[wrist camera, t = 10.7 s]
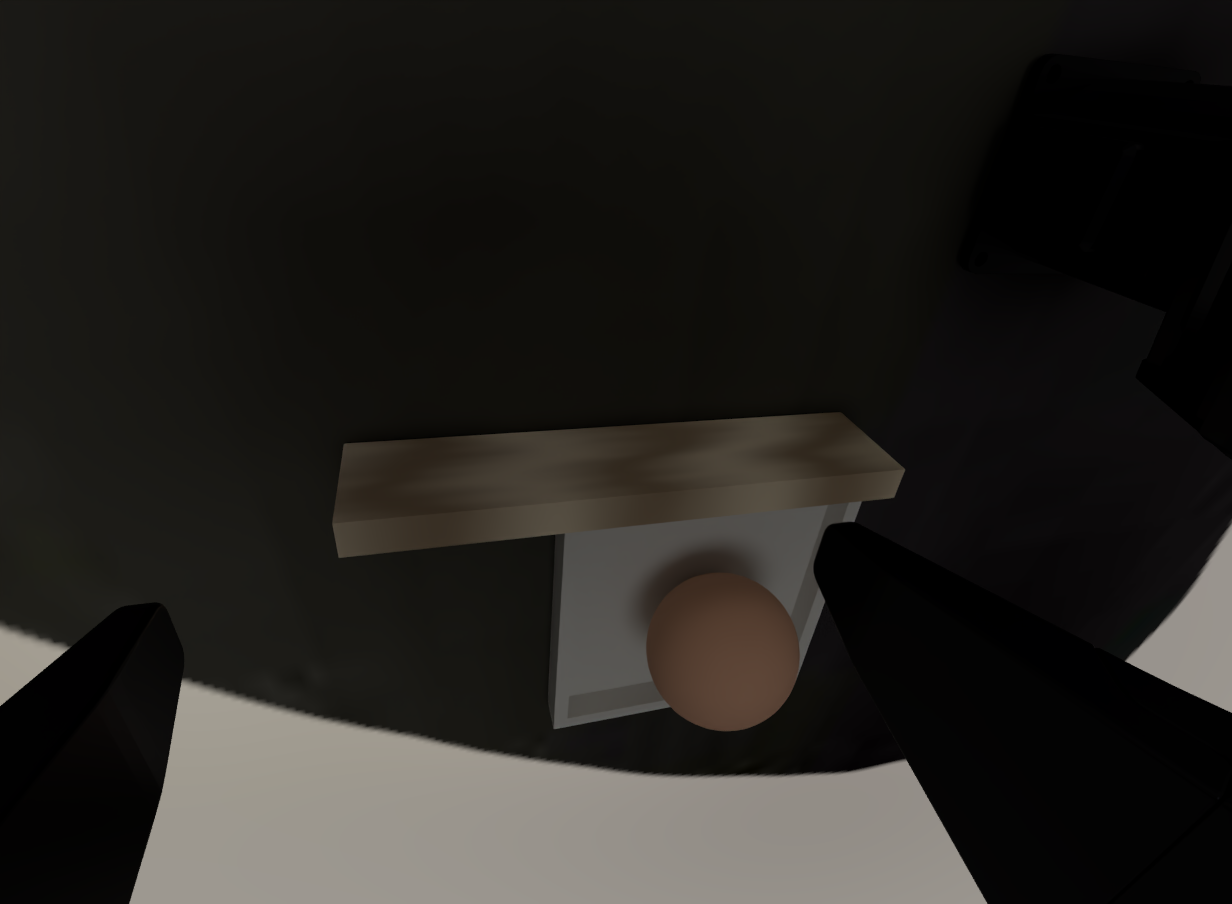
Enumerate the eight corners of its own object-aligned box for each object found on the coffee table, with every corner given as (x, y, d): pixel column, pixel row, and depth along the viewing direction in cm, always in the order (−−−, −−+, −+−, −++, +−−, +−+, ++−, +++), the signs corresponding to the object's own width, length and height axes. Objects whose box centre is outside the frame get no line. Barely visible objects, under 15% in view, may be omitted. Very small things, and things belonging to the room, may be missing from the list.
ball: (767, 533, 27) (850, 642, 22) (740, 630, 30) (807, 744, 26) (634, 552, 25) (693, 675, 21) (620, 654, 28) (669, 780, 24)
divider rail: (840, 411, 25) (905, 469, 22) (832, 438, 25) (894, 497, 22) (343, 443, 20) (332, 523, 17) (348, 474, 21) (338, 557, 17)
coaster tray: (846, 463, 26) (868, 484, 25) (780, 659, 33) (794, 682, 32) (557, 488, 23) (565, 514, 22) (547, 700, 30) (553, 729, 29)
